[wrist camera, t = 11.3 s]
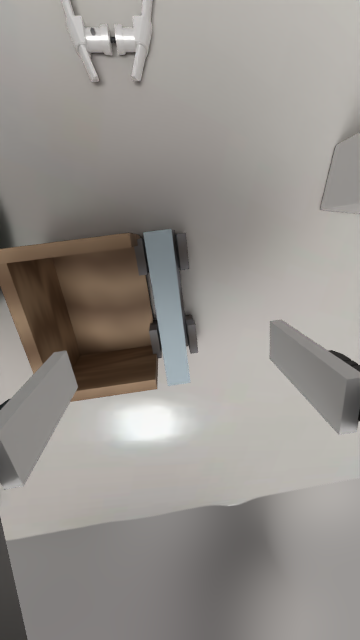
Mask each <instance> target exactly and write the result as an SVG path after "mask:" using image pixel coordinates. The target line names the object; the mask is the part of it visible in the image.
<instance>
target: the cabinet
mask: <svg viewBox="0 0 360 640" xmlns="http://www.w3.org/2000/svg"><path fill="white" fill-rule="evenodd" d="M143 236H144V234H143ZM172 238H173V246H174V254H175V262H176V270H177V278H178V286H179V294H180V302H181V310H182V318H183V326H184V335H185V343H186V346H188V345H189V349H190V353H198V347H197V337H196V328H195V323H194V320H193V318H192V315H187V316H185V314H184V306H183V297H182V289H181V281H180V272H179V268H180V270H185V269H189V261H188V252H187V242H186V233H180V234H175V231H174V230H172ZM148 272H149V273H150V271H149V265H148V259H147V253H146V247H145V241H144V238H141V239H140V236H139V235H137V234H132V233H123V234H115V235H107V236H99V237H91V238H83V239H75V240H67V241H60V242H52V243H44V244H36V245H28V246H20V247H12V248H4V249H0V287H1V289H2V292H3V295H4V297H5V300H6V303H7V305H8V308H9V310H10V313H11V316H12V318H13V321H14V324H15V326H16V329H17V331H18V334H19V337H20V339H21V342H22V344H23V347H24V350H25V352H26V355H27V358H28V360H29V363H30V365H31V368H32V371H33V373H35V372H36V371H37V370H38V369H39V368H40V367H41V366H42V365H43V364H44V363H45V362H46V360H47V359H48V358H49V357H50V356H51V355H52V354H53V353H54V352H59V351H67V354H68V357H69V360H70V363H71V366H72V370H73V373H74V376H75V379H76V382H77V385H78V388H77V390H76V392H75V394H74V396H73V397H72V399H71V401H70V402H72V401H79V400H86V399H92V398H99V397H106V396H113V395H119V394H126V393H133V392H140V391H147V390H153V389H157V376H158V358H162V345H161V339H160V333H159V327H158V321H157V320H153V314H152V308H151V302H150V296H149V290H148V284H147V278H146V275H147V274H148ZM150 279H151V278H150ZM151 285H152V284H151ZM152 291H153V290H152ZM153 297H154V296H153ZM154 303H155V302H154ZM155 310H156V308H155ZM156 316H157V315H156Z"/></svg>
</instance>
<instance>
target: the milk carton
mask: <svg viewBox="0 0 360 640" xmlns="http://www.w3.org/2000/svg"><path fill="white" fill-rule="evenodd" d="M321 210H326V211H336V212H346V213H357V214H360V132H359V133H357V134H356V135H354V136H352V137H350V138H348V139H346V140H344V141H343V142H341V143H339V144H337V145H336V147H335V151H334V155H333V159H332V163H331V167H330V171H329V175H328V179H327V183H326V187H325V191H324V195H323V200H322V204H321Z"/></svg>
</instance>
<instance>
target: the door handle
mask: <svg viewBox="0 0 360 640" xmlns="http://www.w3.org/2000/svg"><path fill="white" fill-rule="evenodd" d="M152 2H153V0H142V11H141V15H140V16H133V27H122V24H114V28H115V37H110V32H109V27H108V24H100V27H85V24H84V22H83V19H82V16H75V14H74V11H73V8H72V5H71V1H70V0H61V3H62V6H63V9H64V12H65V15H66V18H67V20H66V27H67V30H68V32H69V34H70V37H71V39H72V42H73V44H74V47H75V49H76V52H77V54H78V55H79V56H80V57H81V59H82V61H83V64H84V66H85V68H86V70H87V73H88V75H89V77H90V80H91V82H98V81H99V78H98V76H97V73H96V71H95V69H94V66H93V64H92V61H91V59H92V57H91V53H93V52H104V54H105V55H112V46H111V43H116V44H117V50H118V55H126V52H136V53H135V58H134V63H133V68H132V74H131V77H132V80H133V81H141V77H142V72H143V67H144V63H145V58H146V57H147V55H148V51H149V45H150V40H151V34H152V24H151V12H152Z"/></svg>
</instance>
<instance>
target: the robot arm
mask: <svg viewBox="0 0 360 640" xmlns="http://www.w3.org/2000/svg"><path fill="white" fill-rule="evenodd" d="M270 360H271V361H272V362H273V363H274V364H275V365H276V366H277V367H278V368H279V370H280V371H281V372H282V373H283V374H284V375H285V376H286V377H287V378H288V379H289V380H290V382H291V383H292V384H293V385H294V386H295V387H296V388H297V389H298V390H299V391H300V393H301V394H302V395H303V396H304V397H305V398H306V399H307V400H308V401H309V402H310V404H311V405H312V406H313V407H314V408H315V409H316V410H317V411H318V412H319V413H320V414H321V416H322V417H323V418H324V419H325V420H326V421H327V422H328V423H329V424H330V425H331V427H332V428H333V429H334V430H335V431H336V432H337V433H338V434H339V435H342V434H348V433H354V432H357V427H358V421H360V365H358V364H357V363H356V362H354V361H351V359H349V358H348V357H346V356H345V355H343V354H341V353H338V352H335V351H332V350H330V351H328V350H326V349H325V348H323V347H322V346H320V345H319V344H317V343H316V342H314V341H313V340H311V339H310V338H308V337H307V336H305V335H304V334H302V333H301V332H299V331H298V330H296V329H295V328H293V327H292V326H290V325H289V324H287V323H286V322H284V321H283V320H276V321H270ZM77 388H78V385H77V382H76V379H75V376H74V373H73V370H72V366H71V363H70V360H69V357H68V354H67V351H59V352H54V353H53V354H52V355H51V356H50V357H49V358H48V359H47V360H46V362H45V363H44V364H43V365H42V366H41V367H40V368H39V369H38V370H37V371H36V372H35V373H34V374H33V376H32V377H31V378H30V379H29V380H28V381H27V382H26V383H25V384H24V385H23V386H22V387H21V388H20V390H19V391H18V392H17V393H16V394H15V395H14V396H13V397H12V398H11V399H8V400H7V401H5V402H4V403H3V404H1V405H0V483H1V485H2V486H3V488H4V489H10V488H16V487H22V486H24V485H25V483H26V481H27V479H28V477H29V475H30V474H31V472H32V470H33V468H34V466H35V465H36V463H37V461H38V459H39V457H40V455H41V454H42V452H43V450H44V448H45V446H46V445H47V443H48V441H49V439H50V437H51V436H52V434H53V432H54V430H55V428H56V426H57V425H58V423H59V421H60V419H61V417H62V416H63V414H64V412H65V410H66V408H67V406H68V405H69V403H70V401H71V399H72V397H73V396H74V394H75V392H76V390H77ZM0 640H27V635H26V631H25V626H24V622H23V618H22V613H21V608H20V604H19V599H18V595H17V590H16V586H15V582H14V577H13V572H12V568H11V564H10V559H9V554H8V550H7V545H6V541H5V536H4V532H3V527H2V523H1V518H0Z"/></svg>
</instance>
